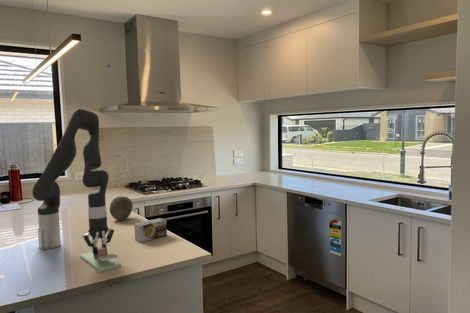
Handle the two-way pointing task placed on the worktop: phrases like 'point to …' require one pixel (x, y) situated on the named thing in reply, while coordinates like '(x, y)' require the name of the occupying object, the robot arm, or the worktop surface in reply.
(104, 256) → the tall wooden post
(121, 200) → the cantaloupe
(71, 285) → the worktop surface
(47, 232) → the robot arm
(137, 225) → the coffee box
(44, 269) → the worktop surface
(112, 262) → the board
